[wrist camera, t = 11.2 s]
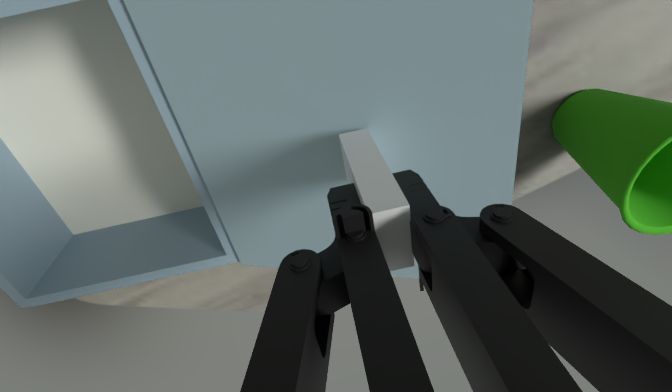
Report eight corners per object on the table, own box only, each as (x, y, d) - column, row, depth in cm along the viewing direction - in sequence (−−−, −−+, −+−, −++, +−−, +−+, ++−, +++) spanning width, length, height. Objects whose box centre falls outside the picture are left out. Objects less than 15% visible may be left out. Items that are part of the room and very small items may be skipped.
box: (-91, 20, 23) (-240, 48, 17) (161, -34, 23) (113, -29, 17) (73, 237, 33) (21, 309, 27) (249, 199, 33) (241, 260, 27)
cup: (509, 148, 34) (594, 220, 25) (574, 48, 29) (706, 90, 20) (583, 172, 36) (685, 246, 27) (653, 83, 32) (802, 135, 23)
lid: (548, -137, 11) (544, -135, 11) (109, -32, 16) (120, -33, 17) (503, 285, 21) (502, 275, 22) (241, 264, 26) (245, 257, 27)
